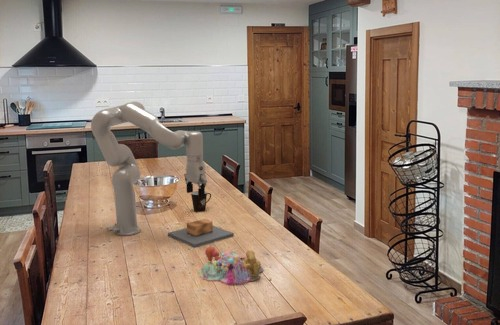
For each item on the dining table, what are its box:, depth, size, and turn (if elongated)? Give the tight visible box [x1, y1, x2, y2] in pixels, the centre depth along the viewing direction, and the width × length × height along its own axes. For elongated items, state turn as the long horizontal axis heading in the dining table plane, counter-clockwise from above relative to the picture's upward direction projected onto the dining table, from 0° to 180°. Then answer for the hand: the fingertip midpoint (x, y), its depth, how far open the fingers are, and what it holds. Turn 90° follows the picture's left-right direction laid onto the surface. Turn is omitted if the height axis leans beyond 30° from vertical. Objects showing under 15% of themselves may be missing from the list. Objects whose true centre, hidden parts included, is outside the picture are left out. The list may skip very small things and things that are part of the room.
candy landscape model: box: [198, 246, 264, 286], centre depth 203 cm, size 25×24×9 cm
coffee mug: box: [190, 190, 212, 213], centre depth 288 cm, size 12×9×10 cm
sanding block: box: [186, 218, 214, 237], centre depth 246 cm, size 10×6×5 cm, turn 130°
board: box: [167, 225, 235, 248], centre depth 246 cm, size 22×22×2 cm
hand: (195, 194), depth 246 cm, fingers open, 9 cm apart
